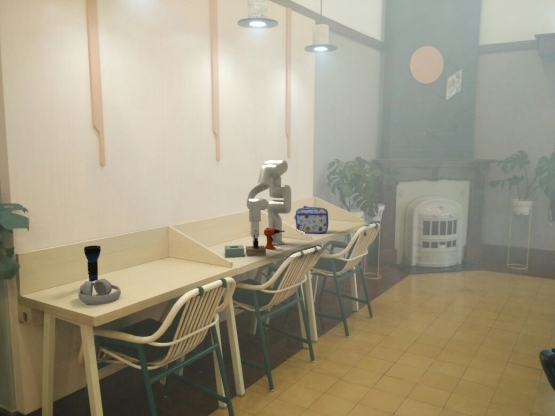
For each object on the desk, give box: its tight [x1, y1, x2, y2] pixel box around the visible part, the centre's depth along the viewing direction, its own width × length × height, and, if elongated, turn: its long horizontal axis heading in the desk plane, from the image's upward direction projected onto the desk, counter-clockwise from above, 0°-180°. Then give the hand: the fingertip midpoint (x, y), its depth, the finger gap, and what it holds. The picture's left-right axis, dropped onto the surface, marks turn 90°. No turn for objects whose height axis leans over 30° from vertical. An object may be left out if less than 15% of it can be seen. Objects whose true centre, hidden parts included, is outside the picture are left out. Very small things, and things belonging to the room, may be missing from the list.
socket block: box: [245, 245, 267, 257], centre depth 326 cm, size 12×12×4 cm
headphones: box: [78, 278, 122, 306], centre depth 233 cm, size 18×8×20 cm
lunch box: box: [293, 205, 329, 234], centre depth 400 cm, size 28×10×22 cm, turn 82°
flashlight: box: [83, 245, 102, 286], centre depth 256 cm, size 8×8×20 cm
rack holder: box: [224, 244, 245, 258], centre depth 324 cm, size 12×12×5 cm
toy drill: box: [263, 227, 286, 251], centre depth 338 cm, size 5×19×15 cm, turn 49°
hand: (255, 246), depth 326 cm, fingers closed on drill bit, 3 cm apart
